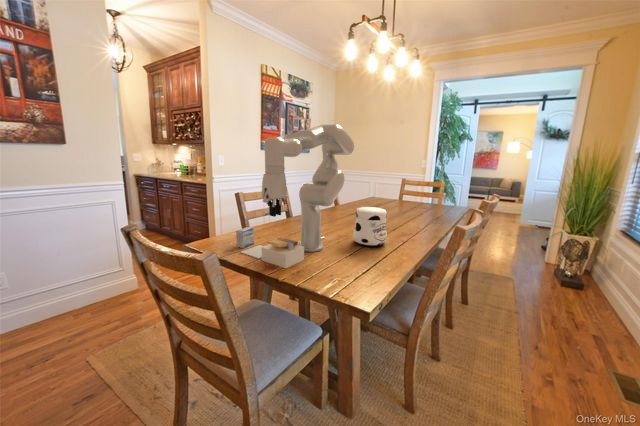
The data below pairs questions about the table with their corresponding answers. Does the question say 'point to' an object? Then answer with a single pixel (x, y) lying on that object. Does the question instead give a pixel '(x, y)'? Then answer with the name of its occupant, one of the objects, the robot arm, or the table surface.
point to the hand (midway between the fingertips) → (275, 215)
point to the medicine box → (245, 237)
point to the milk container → (370, 226)
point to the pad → (254, 252)
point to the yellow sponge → (281, 242)
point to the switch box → (283, 254)
